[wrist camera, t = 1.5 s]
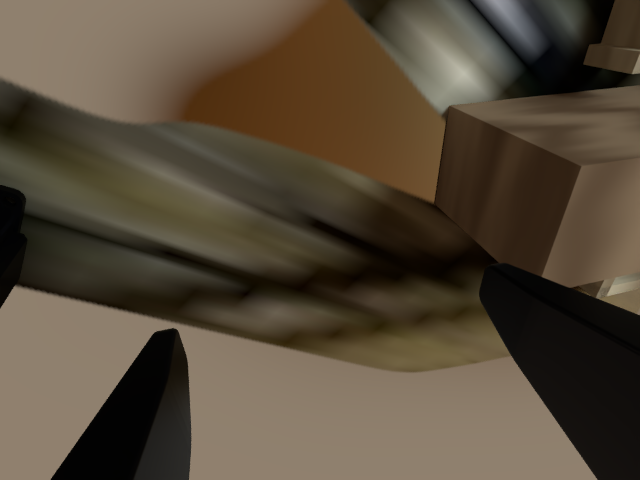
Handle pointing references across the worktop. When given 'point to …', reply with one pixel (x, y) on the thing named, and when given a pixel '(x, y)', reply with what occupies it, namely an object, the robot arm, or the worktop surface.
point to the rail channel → (630, 57)
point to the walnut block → (548, 182)
